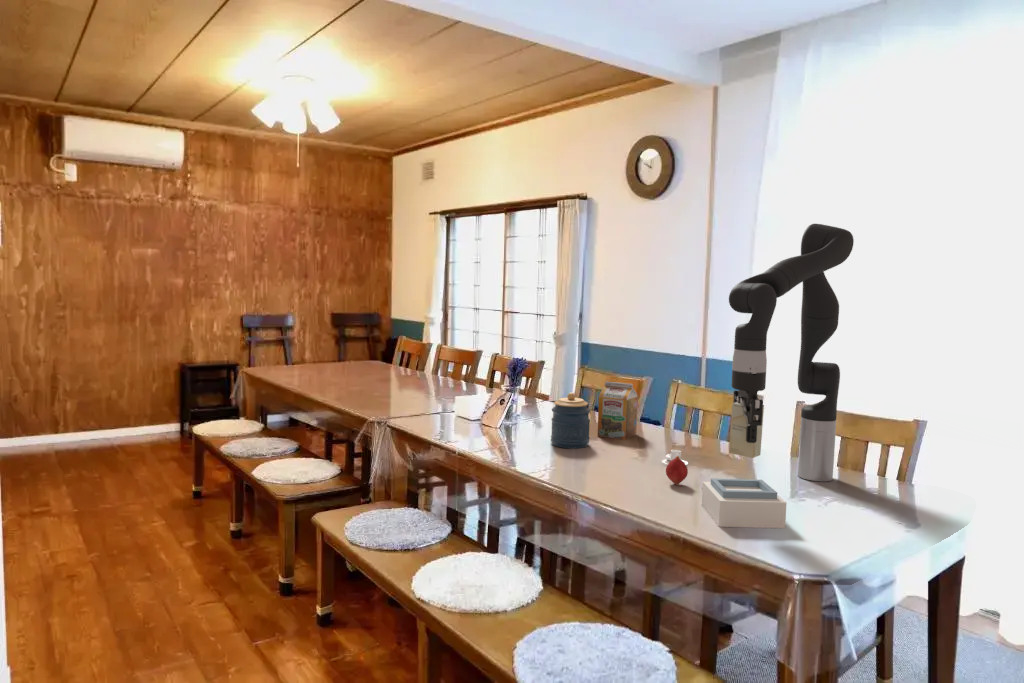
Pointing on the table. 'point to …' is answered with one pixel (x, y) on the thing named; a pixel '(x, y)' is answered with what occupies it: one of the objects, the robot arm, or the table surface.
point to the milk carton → (617, 411)
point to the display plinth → (743, 503)
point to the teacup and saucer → (673, 456)
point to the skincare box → (743, 434)
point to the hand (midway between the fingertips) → (745, 438)
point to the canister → (570, 423)
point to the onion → (676, 470)
